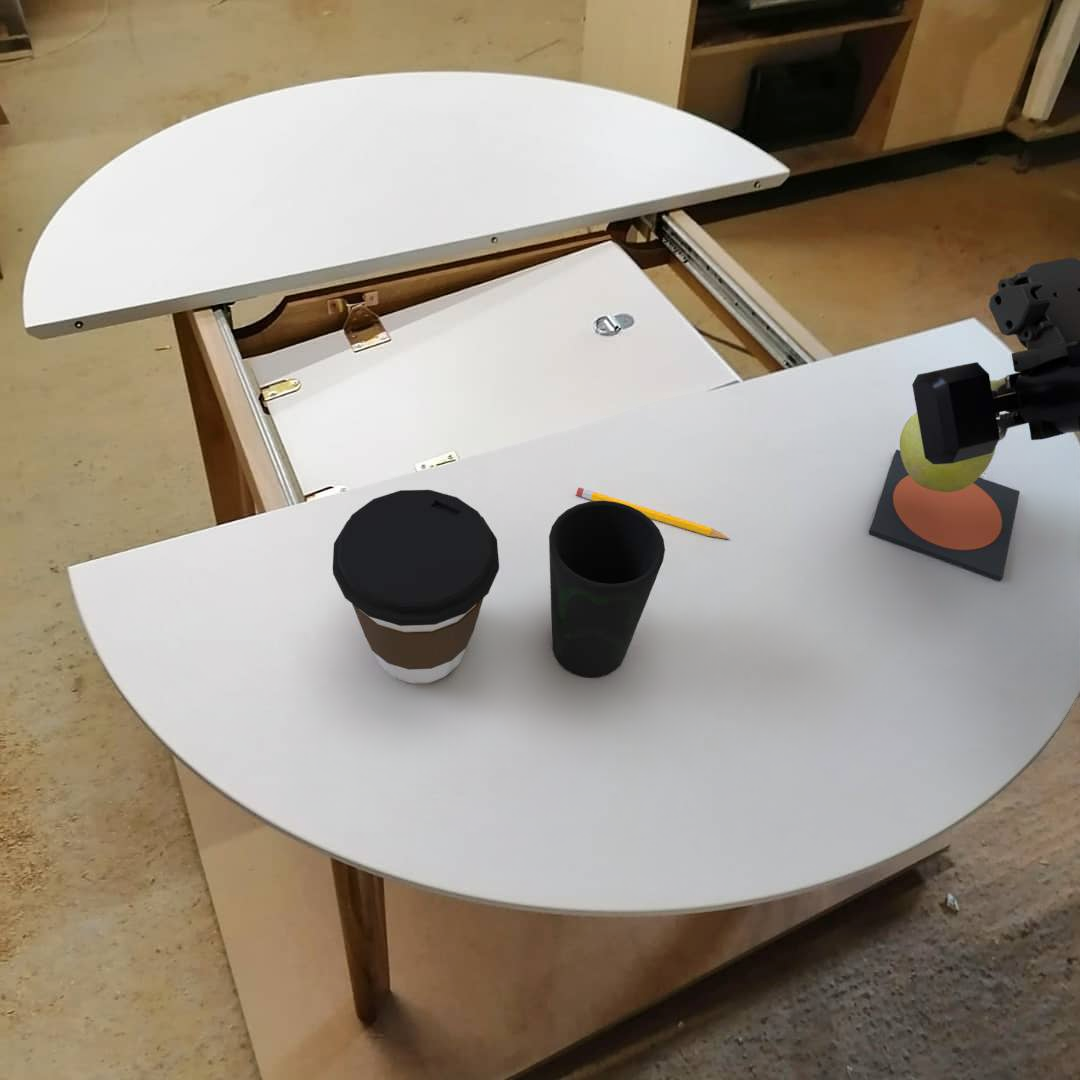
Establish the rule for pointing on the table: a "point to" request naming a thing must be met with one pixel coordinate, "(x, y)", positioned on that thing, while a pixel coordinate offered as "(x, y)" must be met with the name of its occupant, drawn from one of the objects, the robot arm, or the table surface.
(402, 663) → the coffee cup
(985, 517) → the mat
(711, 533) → the pencil
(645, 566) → the cup
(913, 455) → the fruit
